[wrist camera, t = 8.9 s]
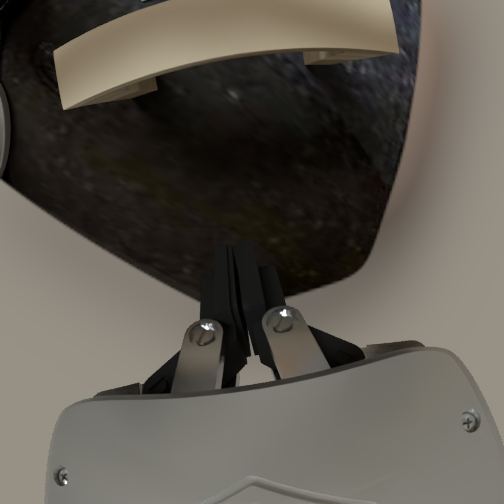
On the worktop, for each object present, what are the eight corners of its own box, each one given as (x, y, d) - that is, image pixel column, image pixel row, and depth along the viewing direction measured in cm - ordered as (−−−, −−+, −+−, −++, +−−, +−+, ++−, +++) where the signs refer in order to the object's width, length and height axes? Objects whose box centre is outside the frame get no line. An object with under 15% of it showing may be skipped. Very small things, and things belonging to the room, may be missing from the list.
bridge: (332, 64, 15) (399, 53, 8) (131, 98, 15) (63, 110, 8) (326, 26, 13) (387, -7, 6) (124, 61, 14) (53, 51, 7)
